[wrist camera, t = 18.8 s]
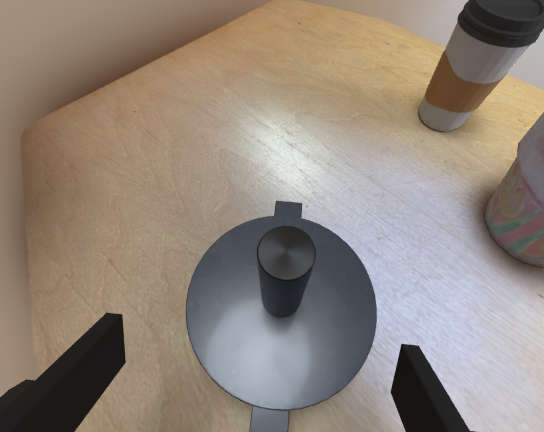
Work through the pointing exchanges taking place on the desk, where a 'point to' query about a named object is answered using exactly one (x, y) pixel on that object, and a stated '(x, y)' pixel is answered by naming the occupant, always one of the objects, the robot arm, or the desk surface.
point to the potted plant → (521, 201)
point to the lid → (281, 313)
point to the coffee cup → (479, 57)
